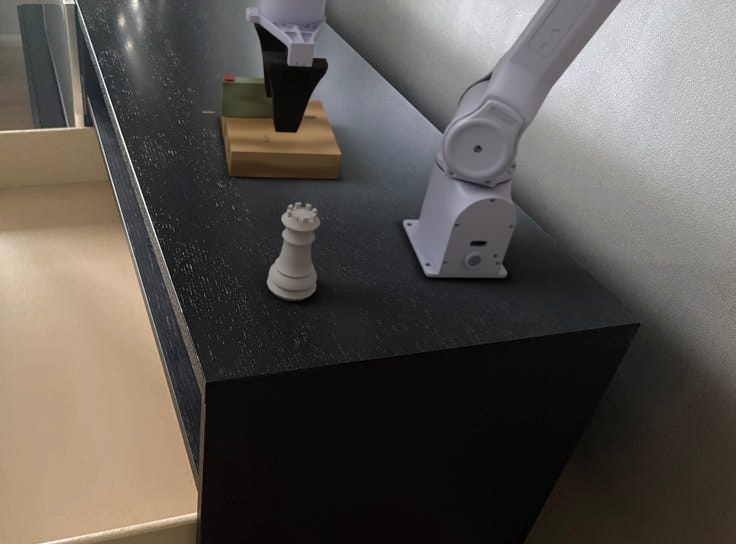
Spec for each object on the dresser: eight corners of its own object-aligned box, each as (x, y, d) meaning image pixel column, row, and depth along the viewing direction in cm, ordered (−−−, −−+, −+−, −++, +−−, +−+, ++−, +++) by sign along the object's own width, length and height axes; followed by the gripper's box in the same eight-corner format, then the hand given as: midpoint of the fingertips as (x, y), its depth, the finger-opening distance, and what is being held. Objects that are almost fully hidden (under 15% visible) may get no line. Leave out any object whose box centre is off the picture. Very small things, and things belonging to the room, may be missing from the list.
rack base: (337, 179, 83) (342, 153, 81) (205, 176, 82) (206, 148, 79) (315, 117, 95) (318, 93, 93) (198, 113, 93) (199, 88, 91)
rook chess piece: (325, 289, 68) (340, 212, 63) (293, 309, 65) (305, 231, 60) (288, 267, 70) (299, 190, 65) (255, 286, 67) (264, 208, 62)
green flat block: (297, 113, 88) (301, 77, 85) (299, 119, 87) (303, 83, 84) (220, 110, 87) (222, 73, 84) (221, 116, 86) (223, 79, 83)
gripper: (243, -67, 69) (234, 81, 78) (258, -18, 58) (245, 146, 67) (319, -62, 70) (301, 84, 79) (348, -13, 59) (323, 149, 68)
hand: (280, 113), depth 73 cm, fingers open, 7 cm apart
